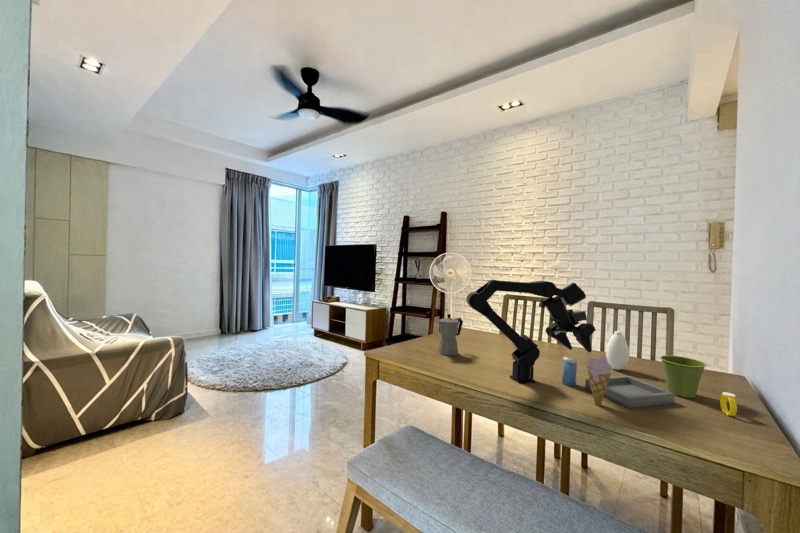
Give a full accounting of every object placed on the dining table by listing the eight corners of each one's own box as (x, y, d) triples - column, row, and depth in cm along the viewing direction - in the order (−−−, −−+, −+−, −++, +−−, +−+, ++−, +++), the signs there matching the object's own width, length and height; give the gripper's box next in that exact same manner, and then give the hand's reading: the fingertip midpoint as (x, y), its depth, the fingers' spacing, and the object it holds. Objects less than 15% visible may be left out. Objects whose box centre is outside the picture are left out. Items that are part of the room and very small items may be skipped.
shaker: (568, 387, 114) (569, 360, 114) (559, 382, 118) (560, 356, 118) (579, 386, 115) (580, 359, 115) (569, 381, 119) (570, 356, 119)
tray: (627, 408, 98) (628, 398, 98) (585, 387, 113) (585, 379, 113) (674, 403, 102) (674, 393, 102) (626, 384, 118) (627, 375, 118)
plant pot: (650, 390, 113) (651, 357, 113) (671, 385, 117) (672, 354, 117) (692, 404, 102) (694, 367, 102) (713, 398, 107) (714, 363, 106)
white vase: (628, 368, 135) (629, 324, 135) (629, 374, 129) (630, 328, 128) (605, 365, 140) (607, 322, 139) (605, 370, 133) (607, 325, 133)
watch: (739, 420, 92) (741, 399, 92) (726, 418, 94) (728, 398, 93) (728, 410, 98) (730, 390, 97) (716, 408, 99) (717, 389, 99)
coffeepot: (444, 357, 145) (445, 316, 145) (430, 352, 153) (431, 313, 152) (468, 352, 154) (470, 314, 154) (454, 347, 162) (455, 311, 161)
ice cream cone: (609, 411, 95) (611, 360, 95) (584, 406, 99) (586, 356, 98) (609, 403, 101) (611, 354, 101) (586, 398, 104) (587, 351, 104)
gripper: (594, 300, 112) (617, 340, 112) (557, 302, 130) (576, 336, 130) (571, 317, 109) (595, 358, 109) (536, 316, 127) (556, 352, 127)
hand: (580, 350), depth 118 cm, fingers open, 9 cm apart
